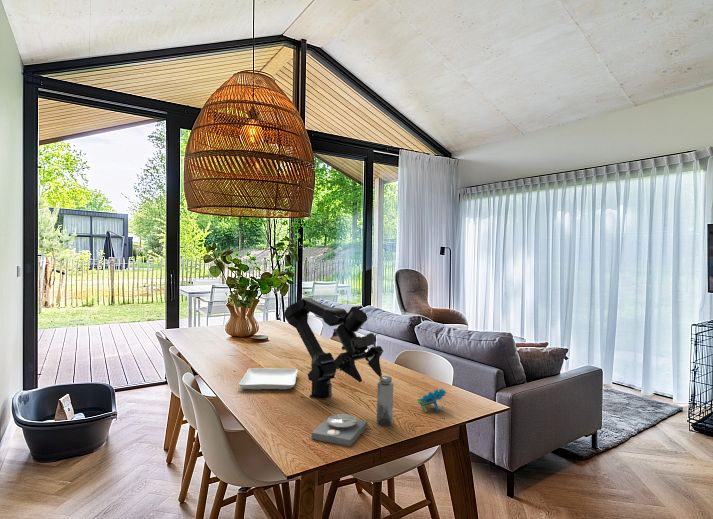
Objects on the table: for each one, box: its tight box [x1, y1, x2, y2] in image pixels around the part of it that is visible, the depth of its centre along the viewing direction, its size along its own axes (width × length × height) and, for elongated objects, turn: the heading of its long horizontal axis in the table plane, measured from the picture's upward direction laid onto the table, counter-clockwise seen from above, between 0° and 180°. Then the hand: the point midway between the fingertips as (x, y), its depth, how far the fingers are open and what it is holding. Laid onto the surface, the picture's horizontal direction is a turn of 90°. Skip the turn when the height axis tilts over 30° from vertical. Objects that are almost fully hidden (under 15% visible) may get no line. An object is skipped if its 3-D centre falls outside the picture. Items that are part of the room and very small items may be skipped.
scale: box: [310, 414, 368, 447], centre depth 129 cm, size 12×14×2 cm
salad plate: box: [238, 367, 299, 390], centre depth 174 cm, size 21×21×3 cm
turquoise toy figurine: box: [416, 388, 447, 413], centre depth 150 cm, size 11×6×10 cm
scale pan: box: [326, 413, 358, 428], centre depth 130 cm, size 9×9×1 cm
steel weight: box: [376, 375, 394, 427], centre depth 137 cm, size 5×5×14 cm
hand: (371, 378), depth 142 cm, fingers open, 9 cm apart
